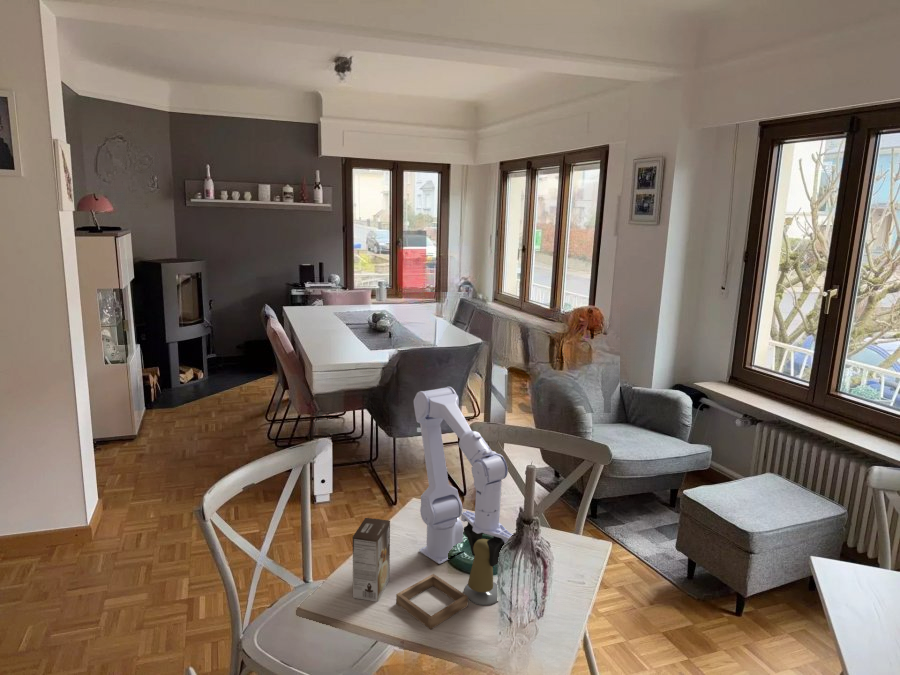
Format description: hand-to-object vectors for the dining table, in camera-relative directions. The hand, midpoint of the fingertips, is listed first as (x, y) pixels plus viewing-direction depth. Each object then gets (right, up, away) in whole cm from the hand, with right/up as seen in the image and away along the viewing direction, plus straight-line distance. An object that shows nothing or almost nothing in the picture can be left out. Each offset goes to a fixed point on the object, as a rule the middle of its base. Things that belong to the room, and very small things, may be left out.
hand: (484, 559), depth 145 cm
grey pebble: (0, -9, +2) cm, 9 cm away
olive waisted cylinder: (-1, -7, +1) cm, 7 cm away
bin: (-12, -10, -3) cm, 16 cm away
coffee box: (-27, -8, +2) cm, 28 cm away
